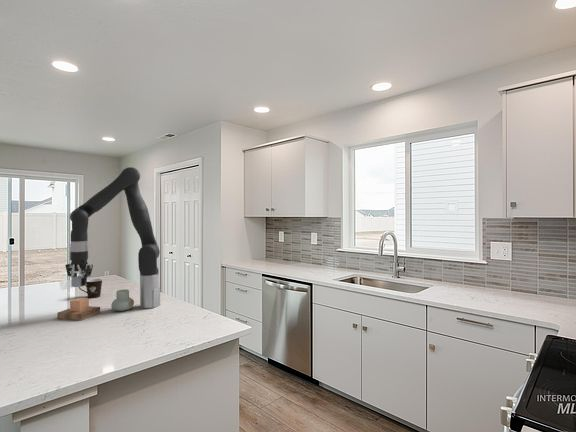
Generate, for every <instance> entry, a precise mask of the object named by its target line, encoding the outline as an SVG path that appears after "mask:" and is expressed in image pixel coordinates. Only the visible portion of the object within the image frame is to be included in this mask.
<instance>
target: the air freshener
mask: <svg viewBox="0 0 576 432" xmlns="http://www.w3.org/2000/svg"><path fill="white" fill-rule="evenodd" d="M115 297H116V299H114V300H113V301H112V303H111V305H110V306H111V309H112V310H114V311H116V312H126V311H129V310H130V309H132V308H133V307H134V305H135V304H134V303H135V300H134V299H133V298H131V297H130V290H129V289H127V288H125V289H118V290H116V294H115Z"/></svg>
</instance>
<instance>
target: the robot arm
mask: <svg viewBox="0 0 576 432" xmlns="http://www.w3.org/2000/svg"><path fill="white" fill-rule="evenodd" d="M140 179H141V173H140V171H139V170H138V169H137V168H135V167H125V168H124V169H123V170H122V171H121V173H120V174H119V175H118V176H117V177H116V178H115V179H113V181H112V182H110V183H109V184H108V185H106V186H105V187H104V188H103V189H100V191H98V192H97V193H95V194H94V195H93V196H91V197H90V198H88V200H86V201H85V202H84V203H83V204H81V205H79V206H78V207H76V208H75V209H74V210H72V211H71V212H70V215H69V220H70V222H71V231H70V244H69V260H70V263H68V264H67V263H66V264H65V271H66V273H67V276H68V277H70V278H71V277H75V276H78V274H79V275H80V276H81V277H82V278H81V285H82V287H84V285H86V284H87V280H88V277H91V275H92V271H93V268H94V265H93V264H89V263H88V259H89V244H88V237H89V236H88V228H89V218H91V216H93V215H94V214H95V213H97V212H99V211H101V209H103V208H105V207H106V206H107V205H108V204H110V202H112V200H113V199H114V198H116V196H118V195H119V194H120V193H122V191H124V194H125V197H126V202H127V209H128V213H129V217H130V220H131V224H132V226H133V227H134V229H135V231H136V233H137V234H138V236H139V238H140V242H141V247H140V249H138V255H137V256H138V257H137V258H138V262H137V263H138V271H139V307H140V309H155V308H156V307H159V306H160V305H161V287H160V286H159V285H160V284H159V268H158V260H157V259H158V258H159V257H160V252H161V251H160V248H159V246H158V243H157V240H156V237H155V235H154V231H153V230H154V229H153V226H152V221H151V217H150V213H149V209H148V206H147V205H146V202H145V201H144V199H143V196H142V195H141V192H140V191H141V190H140V186H139V181H140Z"/></svg>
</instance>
